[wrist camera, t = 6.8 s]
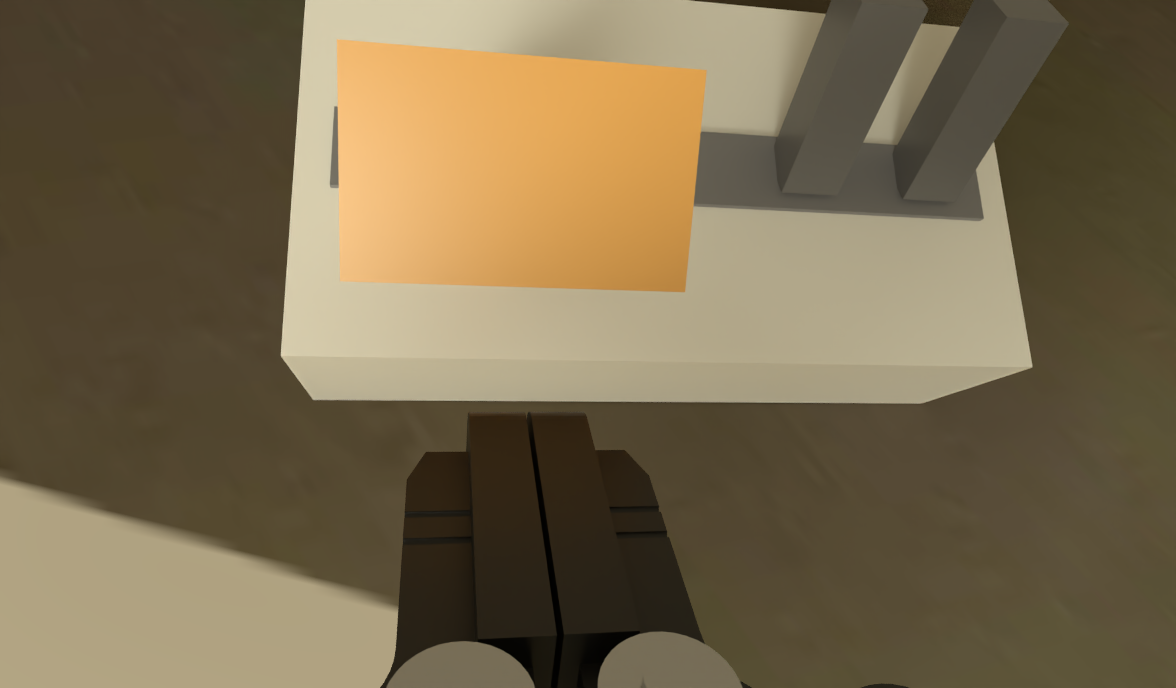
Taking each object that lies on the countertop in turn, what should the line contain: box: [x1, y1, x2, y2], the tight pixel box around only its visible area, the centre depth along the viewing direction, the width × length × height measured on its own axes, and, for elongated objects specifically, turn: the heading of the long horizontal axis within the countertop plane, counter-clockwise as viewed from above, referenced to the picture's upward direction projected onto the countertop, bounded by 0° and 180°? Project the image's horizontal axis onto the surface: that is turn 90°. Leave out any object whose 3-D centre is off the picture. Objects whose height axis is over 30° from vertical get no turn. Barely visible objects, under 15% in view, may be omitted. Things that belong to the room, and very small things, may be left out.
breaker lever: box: [337, 39, 707, 292], centre depth 16 cm, size 4×3×13 cm, turn 91°
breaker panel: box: [281, 0, 1069, 403], centre depth 25 cm, size 22×12×12 cm, turn 92°
